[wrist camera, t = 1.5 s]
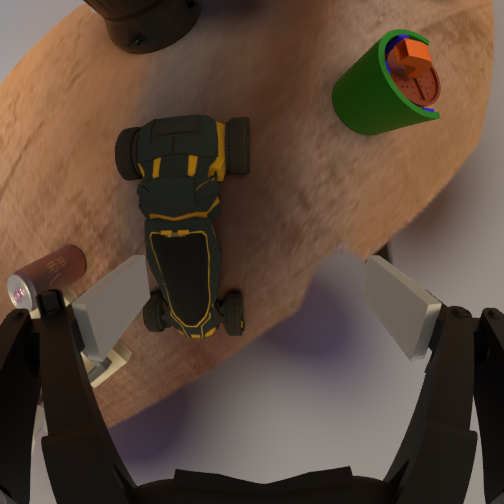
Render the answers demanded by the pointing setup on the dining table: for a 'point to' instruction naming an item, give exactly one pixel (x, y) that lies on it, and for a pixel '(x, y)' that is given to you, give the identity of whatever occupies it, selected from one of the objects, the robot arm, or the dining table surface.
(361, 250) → the dining table surface
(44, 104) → the dining table surface
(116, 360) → the board
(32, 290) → the beverage can
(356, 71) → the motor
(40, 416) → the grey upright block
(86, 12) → the dining table surface
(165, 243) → the toy car
